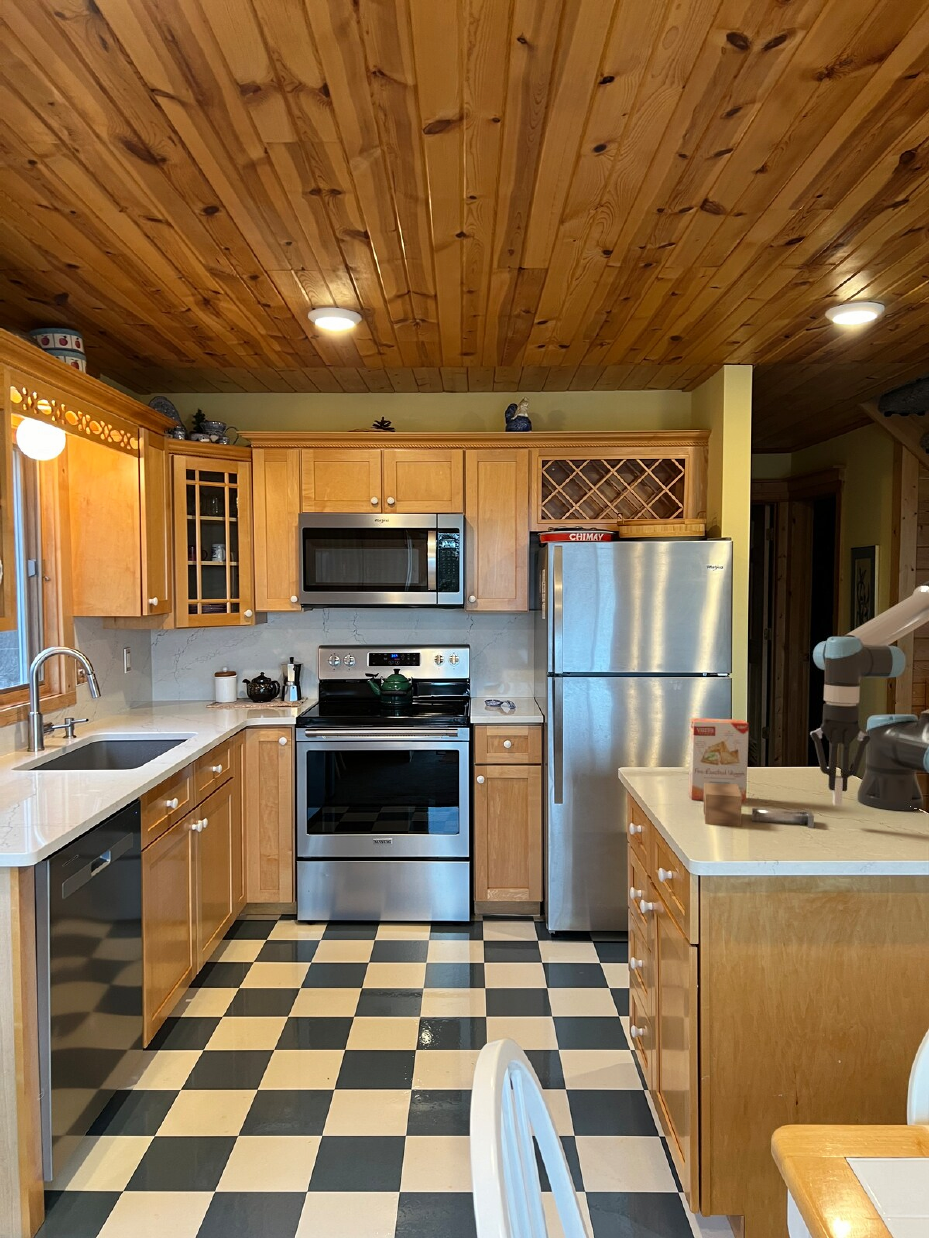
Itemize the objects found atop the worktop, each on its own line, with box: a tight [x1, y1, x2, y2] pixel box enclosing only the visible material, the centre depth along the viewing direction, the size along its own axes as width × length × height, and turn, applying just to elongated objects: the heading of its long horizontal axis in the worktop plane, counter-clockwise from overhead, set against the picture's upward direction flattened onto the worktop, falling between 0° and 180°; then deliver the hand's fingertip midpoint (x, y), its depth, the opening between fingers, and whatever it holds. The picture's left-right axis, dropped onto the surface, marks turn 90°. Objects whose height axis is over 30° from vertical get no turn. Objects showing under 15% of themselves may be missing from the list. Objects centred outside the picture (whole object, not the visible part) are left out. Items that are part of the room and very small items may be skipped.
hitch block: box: [702, 783, 743, 827], centre depth 201 cm, size 8×12×7 cm, turn 166°
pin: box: [751, 807, 815, 829], centre depth 198 cm, size 13×6×3 cm, turn 76°
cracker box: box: [688, 717, 750, 803], centre depth 219 cm, size 14×6×21 cm, turn 83°
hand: (837, 804), depth 195 cm, fingers closed
